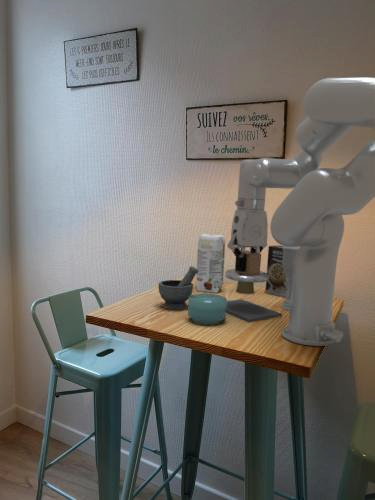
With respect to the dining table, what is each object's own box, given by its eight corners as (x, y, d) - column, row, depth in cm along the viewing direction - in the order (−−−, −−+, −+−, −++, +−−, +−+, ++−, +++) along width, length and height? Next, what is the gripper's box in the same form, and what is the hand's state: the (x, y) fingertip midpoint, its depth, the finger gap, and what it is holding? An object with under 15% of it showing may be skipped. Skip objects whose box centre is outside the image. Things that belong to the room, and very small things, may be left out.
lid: (277, 280, 120) (279, 254, 119) (244, 284, 113) (246, 257, 112) (248, 271, 130) (250, 248, 129) (216, 274, 123) (218, 249, 122)
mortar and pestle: (157, 310, 120) (159, 268, 118) (158, 302, 129) (159, 262, 127) (198, 311, 120) (199, 269, 119) (195, 303, 130) (197, 263, 128)
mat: (281, 316, 119) (281, 313, 119) (249, 322, 113) (249, 319, 112) (241, 301, 133) (241, 299, 133) (210, 306, 127) (210, 303, 126)
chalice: (282, 303, 134) (286, 245, 131) (303, 306, 130) (308, 247, 128) (274, 308, 127) (278, 248, 125) (297, 312, 124) (302, 250, 121)
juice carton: (219, 294, 142) (222, 236, 139) (194, 291, 144) (196, 235, 142) (223, 289, 149) (226, 234, 146) (199, 286, 151) (202, 233, 149)
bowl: (233, 323, 112) (234, 300, 111) (202, 328, 106) (203, 305, 105) (210, 313, 120) (211, 292, 119) (180, 317, 114) (181, 296, 113)
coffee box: (264, 292, 146) (267, 245, 144) (275, 290, 150) (278, 244, 148) (286, 298, 140) (290, 249, 137) (298, 295, 144) (301, 248, 142)
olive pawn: (253, 294, 143) (255, 262, 141) (235, 293, 144) (237, 260, 143) (254, 290, 149) (256, 259, 147) (237, 289, 150) (238, 258, 149)
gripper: (236, 206, 111) (231, 275, 114) (282, 206, 120) (276, 270, 123) (218, 204, 117) (214, 269, 120) (263, 204, 126) (258, 265, 129)
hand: (246, 269), depth 122 cm, fingers closed on lid, 4 cm apart
